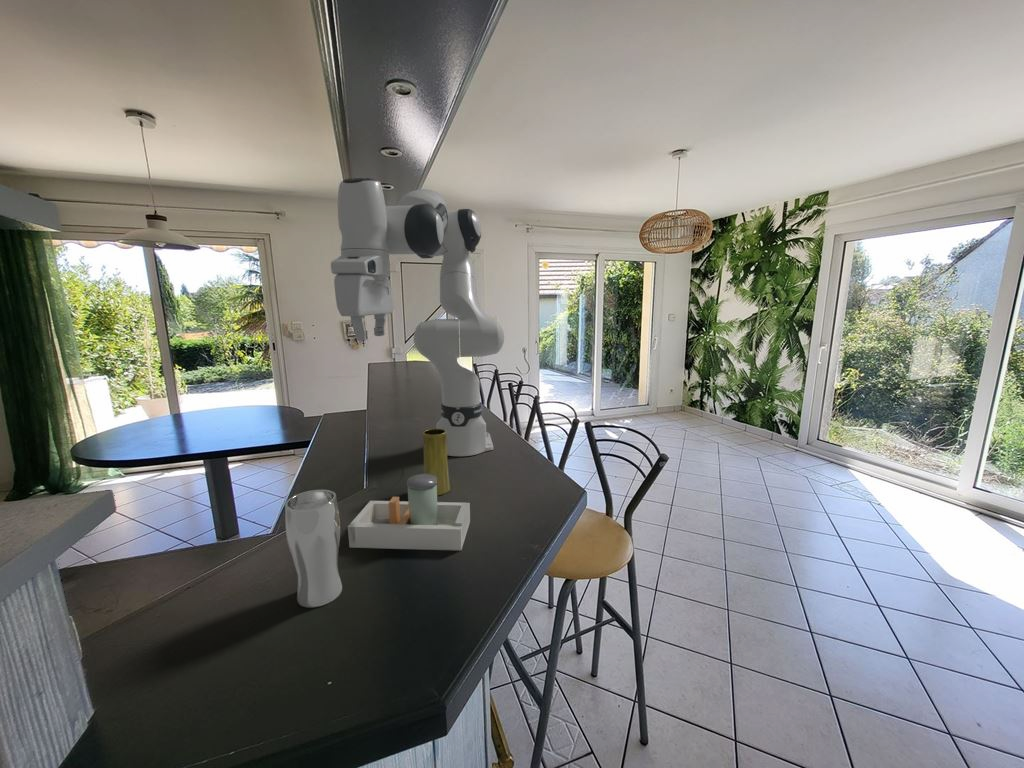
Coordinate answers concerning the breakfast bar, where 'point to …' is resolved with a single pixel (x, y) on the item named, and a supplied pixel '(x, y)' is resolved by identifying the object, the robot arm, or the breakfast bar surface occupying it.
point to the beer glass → (314, 545)
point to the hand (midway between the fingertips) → (371, 337)
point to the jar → (422, 499)
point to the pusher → (394, 514)
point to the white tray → (410, 528)
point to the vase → (436, 457)
